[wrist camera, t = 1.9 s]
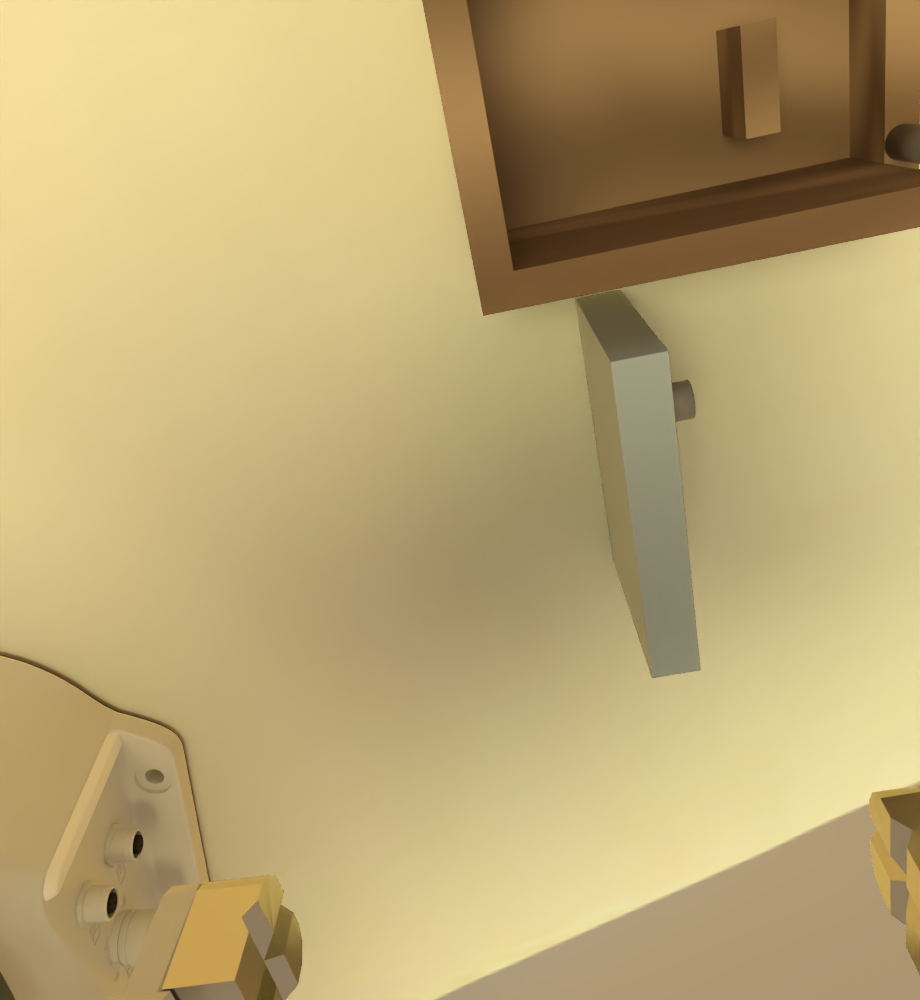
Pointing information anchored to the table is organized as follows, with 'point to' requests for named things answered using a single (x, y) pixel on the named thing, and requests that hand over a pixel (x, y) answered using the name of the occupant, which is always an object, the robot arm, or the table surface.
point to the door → (642, 475)
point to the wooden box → (672, 134)
